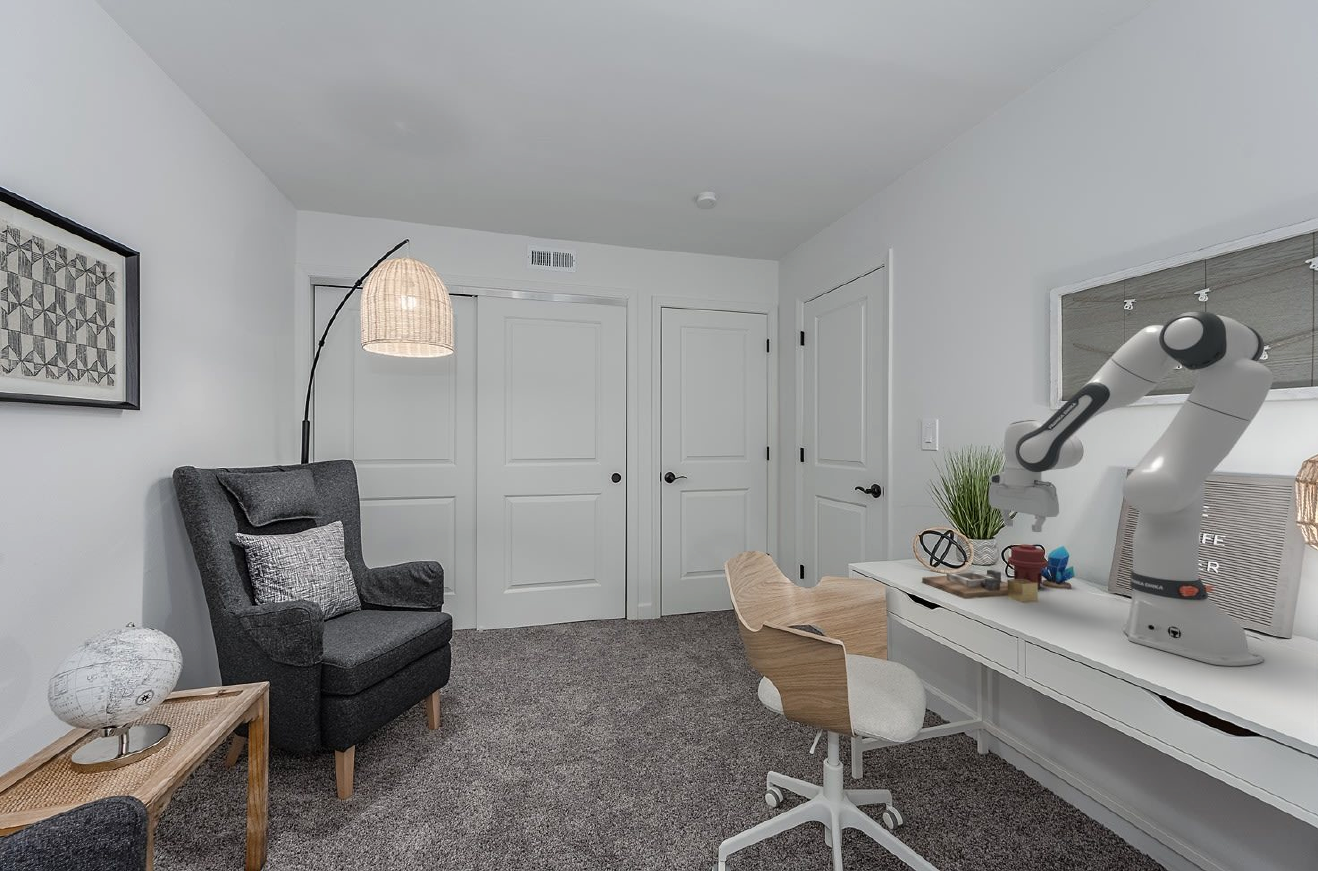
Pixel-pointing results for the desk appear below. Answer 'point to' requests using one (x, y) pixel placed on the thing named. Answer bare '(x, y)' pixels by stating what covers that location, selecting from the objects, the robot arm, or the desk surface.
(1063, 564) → the gemstone
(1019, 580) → the tan cube
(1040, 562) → the mechanical component
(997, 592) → the stand
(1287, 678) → the desk surface
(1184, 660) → the desk surface
